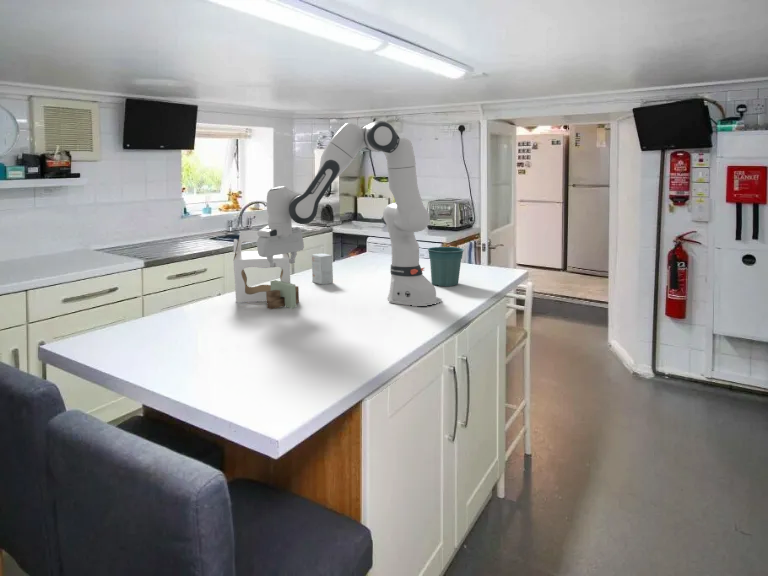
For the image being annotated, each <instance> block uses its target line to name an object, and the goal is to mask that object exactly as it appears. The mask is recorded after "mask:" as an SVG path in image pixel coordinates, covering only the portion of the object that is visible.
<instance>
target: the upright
mask: <svg viewBox="0 0 768 576" xmlns="http://www.w3.org/2000/svg"><path fill="white" fill-rule="evenodd" d="M295 289H296V304H298V303H300V297H299V296H300V291H299V286H298V285H295ZM266 298H267V301H266V309H269V310H274V309H277V308H282V307H285V298H284V297H280V290H272V291H267V292H266Z"/></svg>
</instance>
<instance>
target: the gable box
mask: <svg viewBox="0 0 768 576" xmlns="http://www.w3.org/2000/svg"><path fill="white" fill-rule="evenodd" d="M259 230H260V229H259ZM259 230H258V229H257V230H241V231H240V232H239V237H238V239H237V238H234V239H233V253H235V254H234V257H233V270H234V271H233V272H234V273H233V275H234V290H235V303H236V302H241V303H257V301H262V302H267V298H266V292H267V291H271V284H260V285H256V286H249V285H248V283H247V281H248V277H247V273H246V272H245V269H246V268H247V269H248V268H259V269H270V268H272V267H270V263H269V261H268V260H267V257H260V256H259V255H258V251H257V250H251V251H246V250H245V251H243V250H242V244H243V243H254V242H255V243H256V242H257V241H258V238H259V237H261V236H258V234H257V232H258V231H259ZM289 259H290V255H289V253H285V254H280V255H274V256H273V259H272V260H273V262H275V263H276V267H275V268H280V269H281V271H280V276H279V278H280V281H281V282H286V283H291V268H290V267H291V266H290V265H291V263H289Z"/></svg>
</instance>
